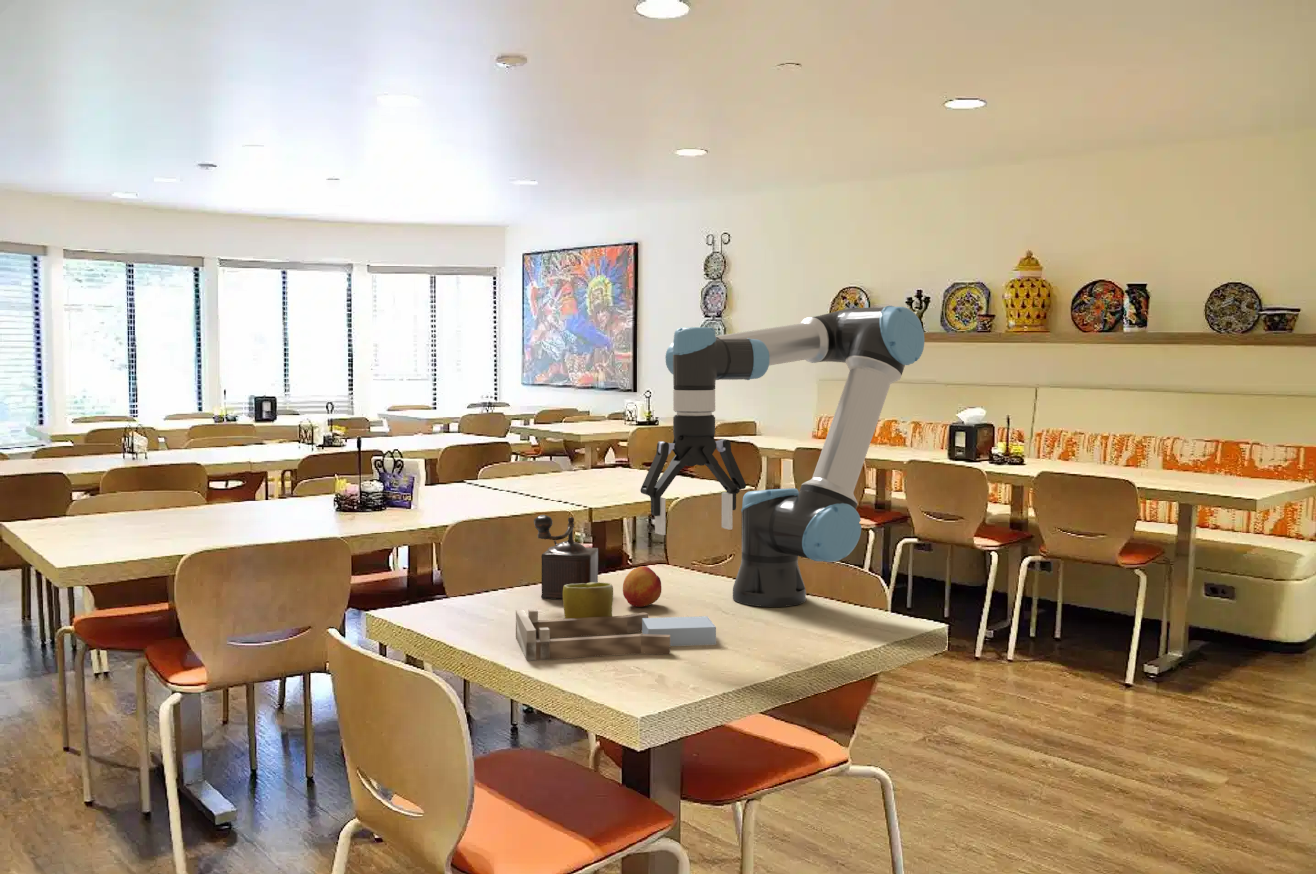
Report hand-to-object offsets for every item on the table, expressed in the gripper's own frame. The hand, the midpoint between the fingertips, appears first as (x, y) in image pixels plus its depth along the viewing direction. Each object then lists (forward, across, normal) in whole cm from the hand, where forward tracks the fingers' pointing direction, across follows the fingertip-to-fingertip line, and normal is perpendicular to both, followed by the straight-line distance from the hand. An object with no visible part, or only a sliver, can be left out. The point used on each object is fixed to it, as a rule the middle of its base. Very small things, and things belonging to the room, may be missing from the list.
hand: (694, 531), depth 198 cm
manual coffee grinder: (+19, +10, -38) cm, 44 cm away
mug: (+19, +15, -14) cm, 28 cm away
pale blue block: (+19, +4, +3) cm, 20 cm away
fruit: (+19, -1, -24) cm, 31 cm away
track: (+19, +20, -1) cm, 27 cm away
